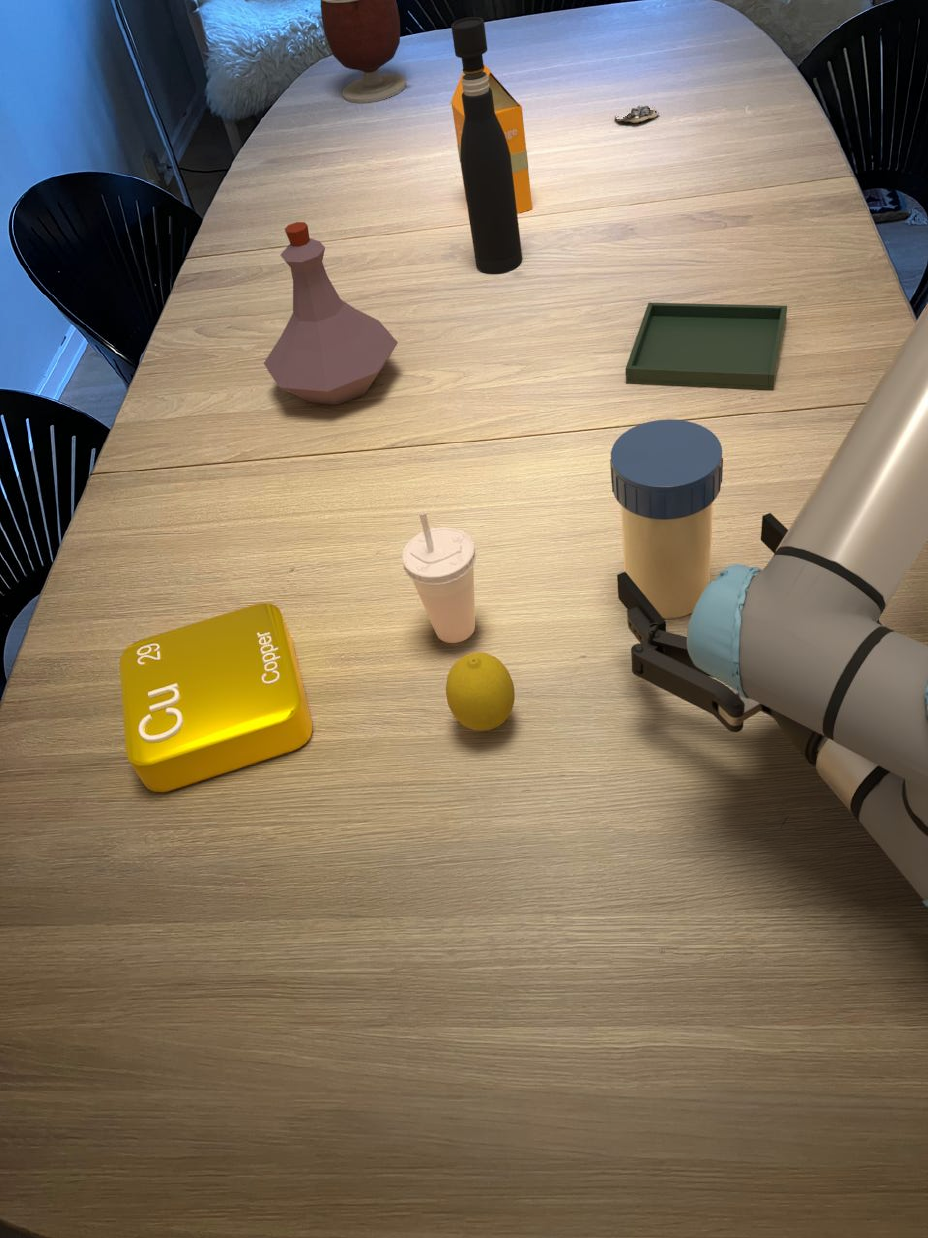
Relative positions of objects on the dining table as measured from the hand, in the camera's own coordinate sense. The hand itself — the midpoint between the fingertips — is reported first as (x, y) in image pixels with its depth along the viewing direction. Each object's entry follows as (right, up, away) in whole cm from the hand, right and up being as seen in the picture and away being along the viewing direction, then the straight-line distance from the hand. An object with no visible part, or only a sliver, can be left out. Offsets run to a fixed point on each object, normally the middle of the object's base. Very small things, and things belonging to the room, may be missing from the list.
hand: (694, 554), depth 86 cm
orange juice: (-14, +56, +68) cm, 90 cm away
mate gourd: (-36, +94, +110) cm, 149 cm away
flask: (-34, +23, +41) cm, 58 cm away
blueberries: (+9, +77, +83) cm, 114 cm away
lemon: (-17, -14, +1) cm, 22 cm away
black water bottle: (-14, +44, +56) cm, 72 cm away
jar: (-1, -3, +8) cm, 9 cm away
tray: (+9, +26, +34) cm, 43 cm away
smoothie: (-20, -6, +9) cm, 23 cm away
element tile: (-41, -13, +6) cm, 43 cm away
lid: (-2, +6, 0) cm, 6 cm away
